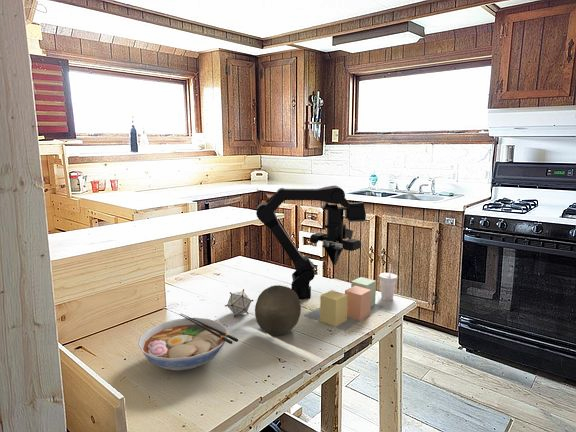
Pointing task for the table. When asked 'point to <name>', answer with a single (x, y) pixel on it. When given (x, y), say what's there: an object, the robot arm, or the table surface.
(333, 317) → the mustard block
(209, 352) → the ramen bowl
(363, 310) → the terracotta block
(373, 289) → the sage block
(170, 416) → the table surface
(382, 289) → the smoothie
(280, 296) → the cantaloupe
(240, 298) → the grey spiked polyhedron
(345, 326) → the grey mat
